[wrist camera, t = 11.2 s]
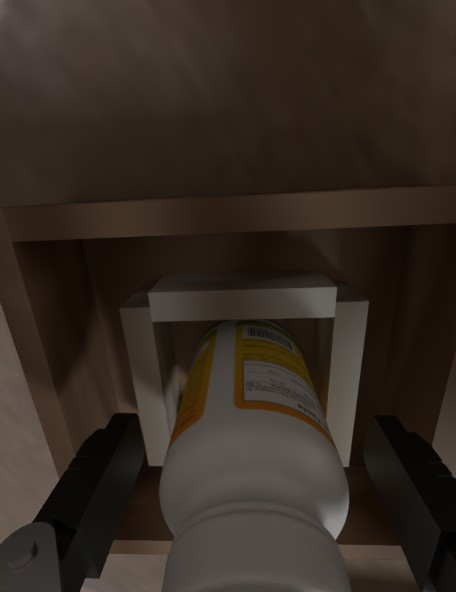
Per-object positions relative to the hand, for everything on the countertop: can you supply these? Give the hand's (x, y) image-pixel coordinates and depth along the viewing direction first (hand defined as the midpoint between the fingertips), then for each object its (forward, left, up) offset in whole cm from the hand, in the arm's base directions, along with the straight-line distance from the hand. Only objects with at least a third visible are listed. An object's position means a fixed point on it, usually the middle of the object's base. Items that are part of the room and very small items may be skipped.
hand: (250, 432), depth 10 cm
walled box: (0, 0, -6) cm, 6 cm away
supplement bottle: (0, 0, -5) cm, 5 cm away
